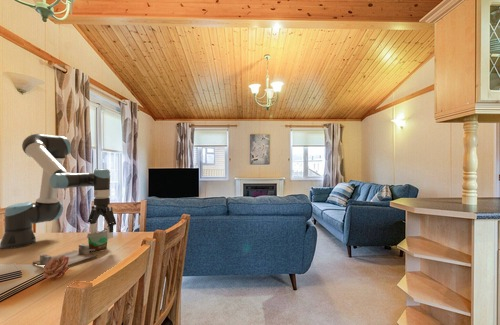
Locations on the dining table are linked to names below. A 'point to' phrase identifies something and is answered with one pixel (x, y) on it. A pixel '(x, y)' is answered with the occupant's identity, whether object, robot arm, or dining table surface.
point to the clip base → (70, 256)
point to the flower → (56, 267)
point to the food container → (97, 241)
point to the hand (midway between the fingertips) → (101, 237)
